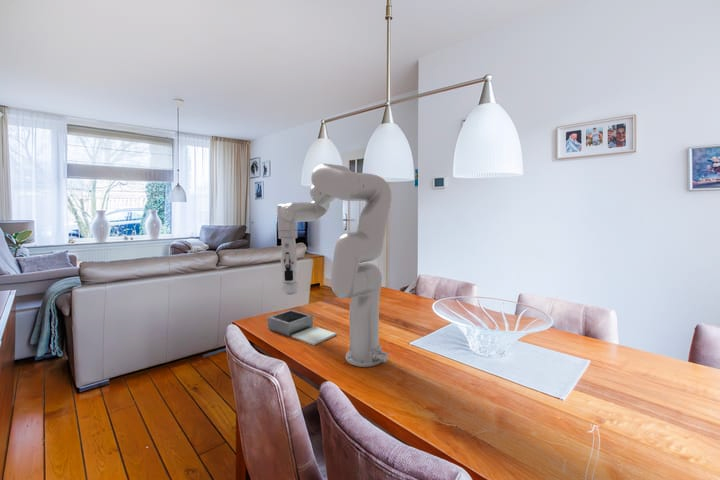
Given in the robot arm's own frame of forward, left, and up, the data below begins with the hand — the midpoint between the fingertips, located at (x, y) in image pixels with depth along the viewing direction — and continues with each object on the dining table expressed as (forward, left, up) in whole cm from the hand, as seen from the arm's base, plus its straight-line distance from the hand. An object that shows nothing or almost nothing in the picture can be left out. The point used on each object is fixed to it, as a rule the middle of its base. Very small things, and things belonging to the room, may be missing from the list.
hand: (289, 278), depth 135 cm
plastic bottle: (0, 0, -7) cm, 7 cm away
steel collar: (0, 0, -21) cm, 21 cm away
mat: (-14, 0, -21) cm, 25 cm away
